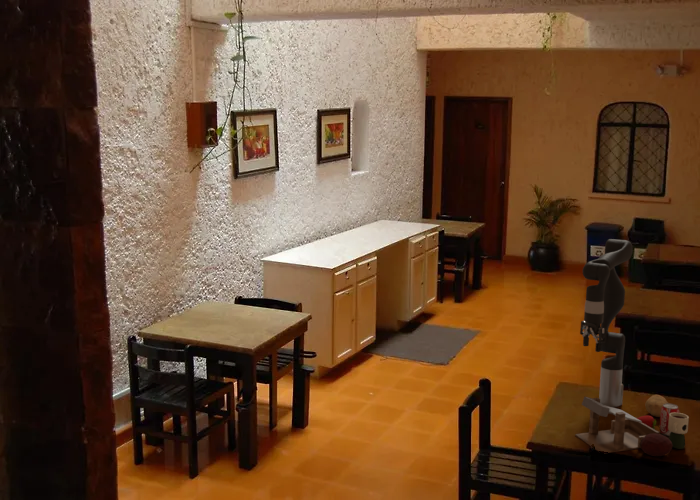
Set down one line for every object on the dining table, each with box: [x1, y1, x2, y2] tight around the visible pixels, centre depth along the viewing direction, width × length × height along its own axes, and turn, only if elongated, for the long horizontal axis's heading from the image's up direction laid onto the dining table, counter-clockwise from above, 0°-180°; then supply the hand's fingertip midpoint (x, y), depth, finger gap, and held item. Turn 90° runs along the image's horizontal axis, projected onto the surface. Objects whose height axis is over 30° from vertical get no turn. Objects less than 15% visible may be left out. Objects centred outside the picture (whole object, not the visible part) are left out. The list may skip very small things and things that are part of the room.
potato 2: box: [640, 433, 674, 457], centre depth 289 cm, size 12×11×8 cm
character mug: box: [668, 412, 690, 450], centre depth 296 cm, size 11×7×13 cm, turn 142°
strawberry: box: [636, 415, 660, 430], centre depth 314 cm, size 6×8×10 cm
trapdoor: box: [581, 396, 642, 423], centre depth 300 cm, size 20×13×4 cm, turn 107°
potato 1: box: [644, 394, 669, 418], centre depth 329 cm, size 10×14×8 cm
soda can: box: [659, 402, 680, 437], centre depth 309 cm, size 7×7×12 cm
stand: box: [574, 397, 660, 454], centre depth 302 cm, size 26×18×15 cm
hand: (591, 348), depth 315 cm, fingers open, 8 cm apart
